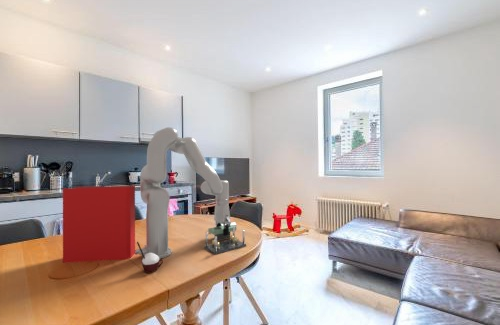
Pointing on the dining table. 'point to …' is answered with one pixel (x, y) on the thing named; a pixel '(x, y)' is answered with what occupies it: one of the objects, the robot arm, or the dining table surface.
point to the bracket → (230, 224)
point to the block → (222, 236)
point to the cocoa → (150, 261)
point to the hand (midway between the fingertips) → (222, 233)
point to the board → (219, 230)
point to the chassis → (225, 244)
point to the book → (98, 223)
